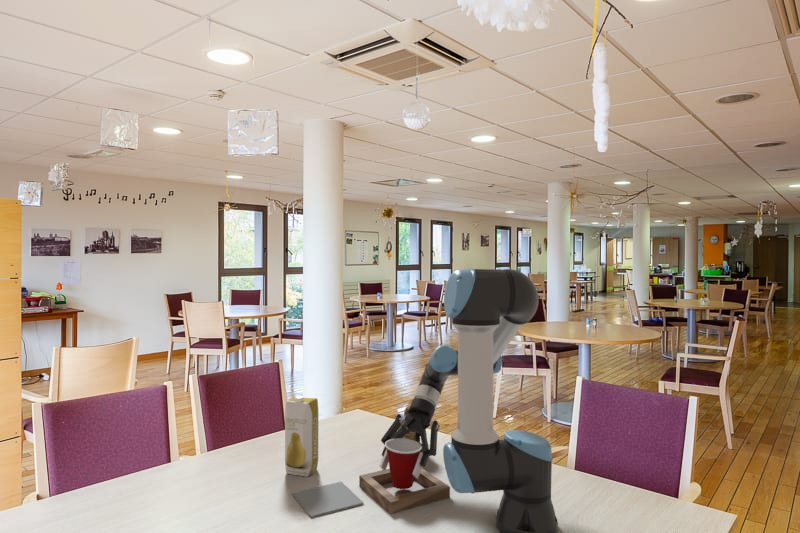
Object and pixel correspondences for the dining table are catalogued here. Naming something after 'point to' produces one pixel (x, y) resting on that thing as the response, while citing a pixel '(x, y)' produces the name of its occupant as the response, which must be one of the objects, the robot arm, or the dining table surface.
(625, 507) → the dining table surface
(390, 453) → the plastic cup
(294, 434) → the juice carton
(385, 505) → the square wooden frame
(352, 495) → the rubber mat
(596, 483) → the dining table surface
